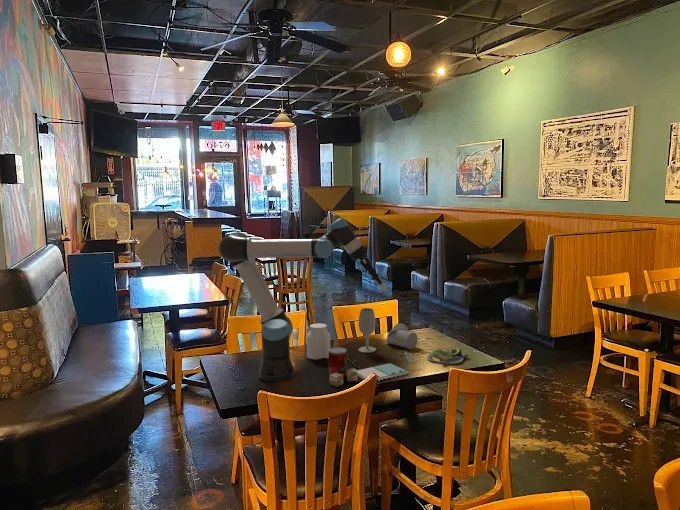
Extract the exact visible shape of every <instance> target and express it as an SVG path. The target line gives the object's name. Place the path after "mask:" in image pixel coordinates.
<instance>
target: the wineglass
mask: <svg viewBox="0 0 680 510" xmlns="http://www.w3.org/2000/svg"><path fill="white" fill-rule="evenodd" d="M375 327H376V314H375V311H374V308H370V307H364V308H361V309H360V312H359V316H358V328H359V332H360V333H361V334H362V335H363V336H364V337H365V346H361V347H359V348H358V350H357V351H358V352H359V353H360V352H361V353H362V354H371V353H375V352H376V350H377V348H376V347H374V346H370V345H369V342H370V341H369V336H371V334H373V333H374V331H375Z"/></svg>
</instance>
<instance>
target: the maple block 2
mask: <svg viewBox="0 0 680 510" xmlns="http://www.w3.org/2000/svg"><path fill="white" fill-rule="evenodd" d="M357 370H358V369H356V368H347V369H346V376H345V379H346V380H347V382H358V376H357Z"/></svg>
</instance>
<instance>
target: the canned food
mask: <svg viewBox="0 0 680 510" xmlns="http://www.w3.org/2000/svg"><path fill="white" fill-rule="evenodd" d="M346 369H348V352H347V349H346V348H345V347H339V346H336V347H330V349H329V358H328V373H329V375H331V374H333V373H339V374H342V375H343V378H344V377H346Z"/></svg>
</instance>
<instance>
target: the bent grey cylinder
mask: <svg viewBox="0 0 680 510" xmlns="http://www.w3.org/2000/svg"><path fill="white" fill-rule="evenodd" d="M385 342H386V343H387V344H390V345H393V346H397V347H400V348H403V349H408V350H414V349H415V347H416V346H417V344H418V335H417V334H416V333H415V332H413V331H409V328H408V326H407V325H406V324H404V323H401V322H399V323H396V324H394V326H393V328H392V329H391V330H390V331H389V332H388V333H387V335H386V339H385Z"/></svg>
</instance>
